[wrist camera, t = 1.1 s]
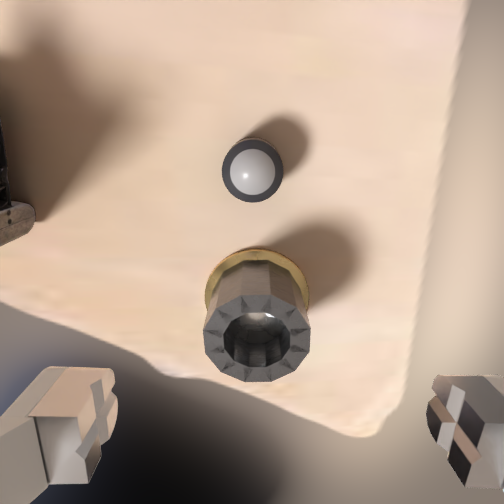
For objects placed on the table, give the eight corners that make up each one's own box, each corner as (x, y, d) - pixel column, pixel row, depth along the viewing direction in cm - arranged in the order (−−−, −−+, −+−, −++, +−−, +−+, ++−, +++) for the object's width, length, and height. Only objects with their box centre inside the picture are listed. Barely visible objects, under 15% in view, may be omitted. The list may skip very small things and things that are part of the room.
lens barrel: (275, 229, 39) (280, 261, 30) (325, 310, 43) (342, 358, 35) (185, 280, 41) (167, 322, 33) (240, 352, 46) (237, 405, 37)
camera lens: (262, 125, 34) (263, 127, 31) (290, 175, 36) (294, 182, 33) (214, 157, 36) (209, 162, 32) (244, 203, 38) (242, 213, 34)
